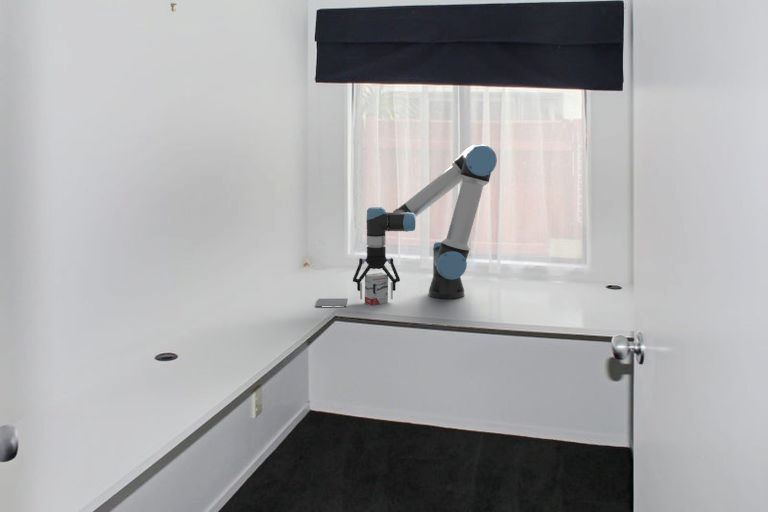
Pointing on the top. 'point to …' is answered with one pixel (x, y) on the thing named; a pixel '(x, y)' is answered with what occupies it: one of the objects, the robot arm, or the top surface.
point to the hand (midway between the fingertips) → (376, 298)
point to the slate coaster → (332, 302)
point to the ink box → (376, 288)
